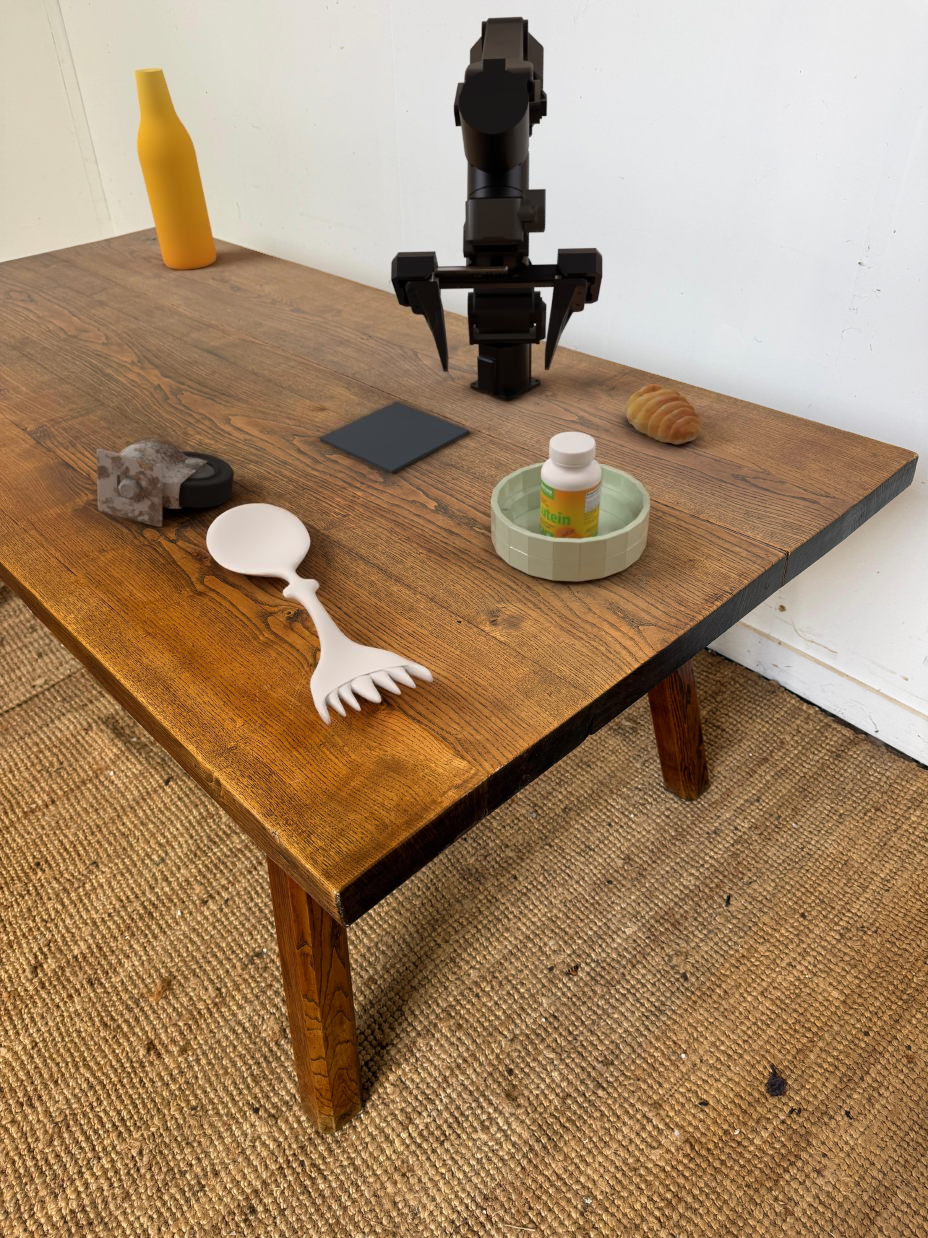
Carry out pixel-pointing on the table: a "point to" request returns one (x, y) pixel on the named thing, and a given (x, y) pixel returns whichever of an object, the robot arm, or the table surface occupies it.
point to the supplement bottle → (570, 488)
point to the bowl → (569, 556)
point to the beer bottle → (172, 177)
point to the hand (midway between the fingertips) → (495, 369)
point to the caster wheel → (159, 480)
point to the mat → (394, 436)
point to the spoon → (307, 605)
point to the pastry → (663, 415)
